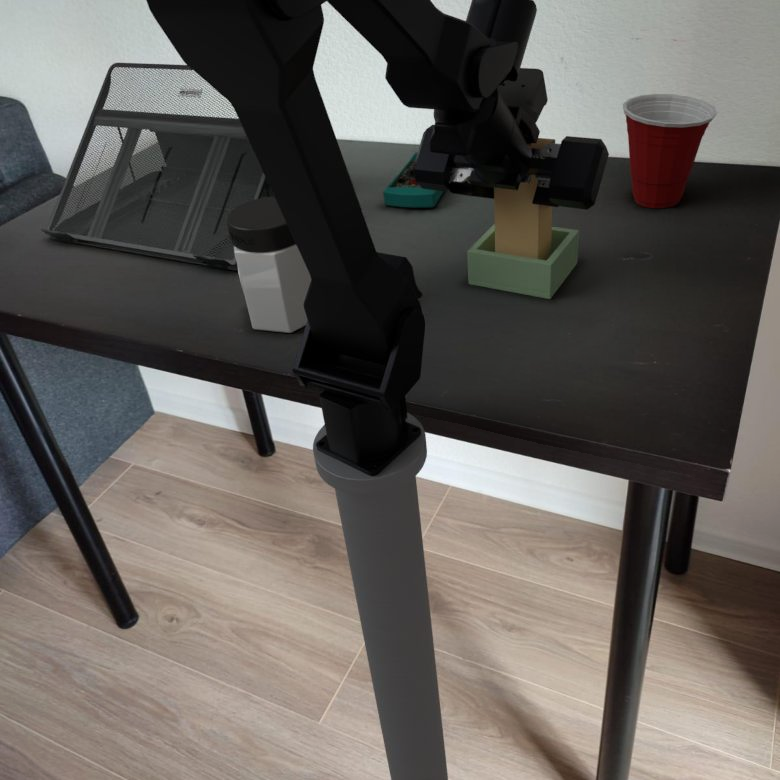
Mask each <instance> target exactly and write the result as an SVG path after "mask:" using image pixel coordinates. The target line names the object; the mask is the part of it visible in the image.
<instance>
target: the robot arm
mask: <svg viewBox="0 0 780 780" xmlns="http://www.w3.org/2000/svg"><path fill="white" fill-rule="evenodd" d="M326 2H327V3H328V4H329V5H330V6H331V7H332V8H333V9H334V10H335V11H336V12H337V13H338V14H339V15H340V16H341V17H342V18H343V19H344V20H345V21H346V22H347V23H348V24H349V25H350V26H351V27H353V28H354V30H355V31H357V32H358V34H359V35H361V37H362V38H363V39H365V40H366V41H367V43H368V44H370V45H371V46H372V47H373V48H374V49H375V50H376V51H377V52H378V53H379V54H380V55H381V56H382V58H383V59H384V61H385V62H386V67H385V68H386V69H385V75H384V77H385V80H386V82H387V84H388V85H389V86H390V88H391V89H392V91H393V93H394V94H395V95H396V97H397V99H398V100H399V101H400V103H401V104H402V105H403V106H405V107H407V108H410V109H423V110H424V109H425V110H433V121H434V124H432V125H430V126H428V127H427V128H426V129H425V130H424V132H423V133H422V136H421V139H420V143H419V146H418V149H417V152H418V153H417V156H416V159H415V163H414V166H413V177H414V179H415V181H416V182H417V183H418V184H419V185H420V187H421V188H422V189H429V190H437V191H443V192H446V191H449V192H450V194H453V195H460V196H468V197H476V198H483V199H491V200H494V188H502V189H510V190H518V188H519V185H520V183H521V184H529V183H530V180H531V174H532V175H536V177H535V178H536V180H537V181H538V184H537V188H536V191H535V194H534V198H533V201H532V204H536V205H544V206H552V208H559V207H562V208H570V209H577V210H586V211H587V210H589V209H591V208H592V207H594V206H595V205H596V201H597V197H598V194H599V190H600V187H601V184H602V181H603V178H604V177H603V176H604V173H605V169H606V166H607V163H608V159H609V156H610V153H609V150H608V147H607V145H606V144H605V143H604V141H603V139H602V138H595V137H594V138H593V137H582V136H571V135H566V136H565V137H564V138H563V139H562V140H561V142H560V143H556V142H555V143H549V144H547V145H546V146H545V147H544V148H543V149H535V148H531V144H532V143H537V140H538V138H540V137H539V136H540V133H541V131H540V129H539V127H538V125H537V121H538V120H539V118H540V116H541V113H542V111H543V110H544V108H545V106H547V104H548V93H547V86H546V80H545V75H544V72H543V70H542V69H539V68H529V67H528V68H527V67H522V63H523V60H524V57H525V53H526V50H527V47H528V43H529V40H530V37H531V33H532V29H533V26H534V23H535V20H536V16H537V12H538V8H537V4H536V2H535V0H471V3H470V6H469V9H468V13H467V14H466V15H467V16H466V19H465V20H464V19H461V18H458V17H455V16H452V15H449V14H447V13H445V12H443V11H442V10H440V9H439V8H437V7H436V5H435V4H434V2H433V1H432V0H146V3H147V6H148V9H149V11H150V12H151V14H152V16H153V18H154V20H155V21H156V23H157V24H158V25H159V27H160V29H161V30H162V31H163V33H164V34H165V37H167V39H168V41H169V42H170V43H171V45H172V47H173V48H174V49H175V51H176V52H177V54H178V55H179V57H180V58H181V60H182V61H183V62H184V64H185V65H188V66H189V67H190V68H191V69H192V71H194V73H195V72H196V73H195V74H196V75H198V77H199V76H200V78H201V77H202V78H201V79H202V80H204V81H206V83H207V82H208V83H207V84H209V85H211V88H214V89H215V91H216V90H217V91H218V92H219V93H220V94H219V93H218V92H217V91H216V92H217V93H218V94H219V95H221V94H222V95H223V96H222V95H221V96H222V97H223V98H224V99H225V100H227V102H228V103H230V104H231V105H232V108H233V110H234V109H235V111H236V112H235V113H236V115H237V116H238V117H237V116H236V117H237V119H238V118H239V120H240V122H241V125H242V127H243V129H244V131H245V133H246V136H247V138H248V140H249V142H250V144H251V147H252V149H253V151H254V153H255V155H256V157H257V160H258V162H259V164H260V166H261V168H262V171H263V173H264V175H265V177H266V179H267V182H268V184H269V185H268V187H269V189H270V188H271V189H270V190H271V192H272V193H271V194H273V195H272V196H274V197H275V199H276V201H277V203H278V206H279V208H280V210H281V212H282V214H283V217H284V219H285V221H286V223H287V225H288V228H289V230H290V232H291V234H292V236H293V239H294V241H295V243H296V245H297V247H298V250H299V252H300V254H301V256H302V258H303V260H304V263H305V265H306V267H307V269H308V271H309V274H310V277H311V282H310V285H309V288H308V292H307V295H306V298H305V301H304V304H303V306H304V310H305V313H306V316H307V323H306V325H305V326H304V329H303V333H302V336H301V340H300V343H299V346H298V349H297V353H296V356H295V359H294V363H293V366H292V369H291V370H292V371H291V372H292V374H293V376H294V377H295V379H296V380H297V382H298V384H299V385H300V386H302V387H305V388H308V387H309V388H314V389H316V390H321V391H322V392H321V393H319V395H318V396H319V401H320V408H321V412H322V418H323V423H324V425H325V428H326V435H325V436H324V437H323V438H321V439H320V440H319V441H318V442H317V443H316V448H317V450H318V451H320V452H322V453H324V454H326V455H328V456H330V457H332V458H334V459H336V460H338V461H340V462H342V463H344V464H347V465H349V466H351V467H353V468H355V469H357V470H359V471H361V472H363V473H365V474H367V475H369V476H376V475H378V474H379V473H380V472H381V471H382V470H383V469H385V468H386V467H387V466H388V465H389V464H390V463H391V462H392V461H393V460H394V459H395V458H397V457H398V456H399V455H400V454H401V453H402V452H403V451H404V450H405V449H406V448H407V447H409V446H410V445H411V444H412V443H413V442H414V441H415V440H416V439H417V438H418V437H419V436H420V435H421V429H420V428H419V427H418V426H415V425H413V424H411V423H408V422H406V419H407V413H408V410H407V400H406V396H407V394H408V393H409V392H410V391H412V389H413V388H414V386H415V385H416V384H417V383H418V382H419V381H420V380H421V376H422V375H421V374H422V365H423V354H424V346H425V345H424V343H425V333H426V317H425V315H424V313H423V308H422V305H421V302H420V300H419V299H421V298H422V297H423V292H422V291H421V290H420V289H419V288H418V285H417V283H416V279H415V273H414V267H413V264H412V263H411V262H410V261H409V259H408V258H407V256H401V255H397V254H396V255H395V254H389V253H385V252H380V251H379V252H378V251H377V250H376V246H375V244H374V242H373V239H372V236H371V232H370V230H369V228H368V225H367V222H366V221H367V220H366V219H365V216H364V213H363V210H362V207H361V205H360V202H359V199H358V196H357V193H356V190H355V188H354V184H353V182H352V179H351V176H350V173H349V170H348V168H347V164H346V162H345V159H344V156H343V153H342V150H341V148H340V145H339V142H338V139H337V137H336V134H335V131H334V128H333V124H332V122H331V120H330V117H329V114H328V111H327V107H326V105H325V102H324V99H323V96H322V93H321V90H320V87H319V85H318V83H317V79H316V75H315V72H314V71H315V70H314V65H315V61H316V57H317V53H318V49H319V45H320V41H321V37H322V32H323V27H324V24H325V17H324V13H323V7H322V5H323V4H325V3H326ZM231 105H230V106H231ZM535 157H536V158H535ZM543 158H544V159H543ZM527 174H528V176H527ZM449 182H450V183H449Z"/></svg>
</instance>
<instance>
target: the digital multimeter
mask: <svg viewBox="0 0 780 780" xmlns="http://www.w3.org/2000/svg"><path fill="white" fill-rule="evenodd" d="M417 153H418V151H416V152H415V153H414V154H412V156H411V157H410V159H409V160H408V162H407V163H406V164H405V165H404V167H403V168H402V169H401V171H399V173H398V174H397V175H396V176H395V177H394V178H393V179H392V181H391V182H390V183H389V184H388V185H387V186H386V187H385V188H384V190H383V191H382V194H383V195H382V196H383V202H384V205H386V206H387V207H394V208H407V209H408V208H409V209H433V208H434V207H435V206H436V205H437V204H438V201H439V200H440V198H441V197H442V194H443V193H444V191H437V190H429V189H422V188H421V187H420V185H419V184H418V183H417V182H416V181H415V179H414V177H413V166H414V163H415V159H416V156H417ZM449 183H450V182H449Z"/></svg>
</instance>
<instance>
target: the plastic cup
mask: <svg viewBox="0 0 780 780" xmlns="http://www.w3.org/2000/svg"><path fill="white" fill-rule="evenodd" d="M622 109H623V113H624V115H625V122H626V131H627V139H628V140H627V141H628V154H629V167H630V168H629V171H630V176H631V187H632V196H633V200H634V203H636V204H637V205H638V206H642V207H644V208H650V209H666V208H672V207H674V206H676V205H678V204H679V203H680V201H681V199H682V197H683V196H684V192H685V188H686V185H687V182H688V179H689V177H690V176H691V172H692V169H693V166H694V164H695V161H696V158H697V156H698V155H697V154H698V152H699V148H700V145H701V142H702V140H703V137H704V136H705V133H706V131H707V129H708V127H709V125H710V122H712V121H713V120H714V118H715V117H716V116H717V114H718V111H717V109H716V108H715V106H714V105H712V104H711V103H709V102H707V101H705V100H703V99H699V98H696V97H692V96H687V95H681V94H680V95H679V94H674V93H651V94H640V95H637V96H634V97H631V98H630V97H629V98H627V100H626V101H624V102H623V103H622Z"/></svg>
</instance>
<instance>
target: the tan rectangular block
mask: <svg viewBox="0 0 780 780" xmlns="http://www.w3.org/2000/svg"><path fill="white" fill-rule="evenodd" d="M549 143H556V139H555V138H543V137H538V140H537V143H532V144H531V148H535V149H543V148H544V147H545V146H546V145H547V144H549ZM535 158H536V157H535ZM543 159H544V158H543ZM527 176H528V174H527ZM535 177H536V175H532V174H531V180H530V183H529V184H521V183H520V185H519V188H518V190H510V189H502V188H494V199H493V208H494V210H493V211H494V215H493V216H494V224H495V252H497V253H503V254H509V255H515V256H521V257H527V258H533V259H540V260H547V259H548V258H549V257H550V255H551V237H552V227H553V207H552V206H544V205H536V204H532V201H533V198H534V194H535V191H536V188H537V184H538V181H537V180H536V178H535Z"/></svg>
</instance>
